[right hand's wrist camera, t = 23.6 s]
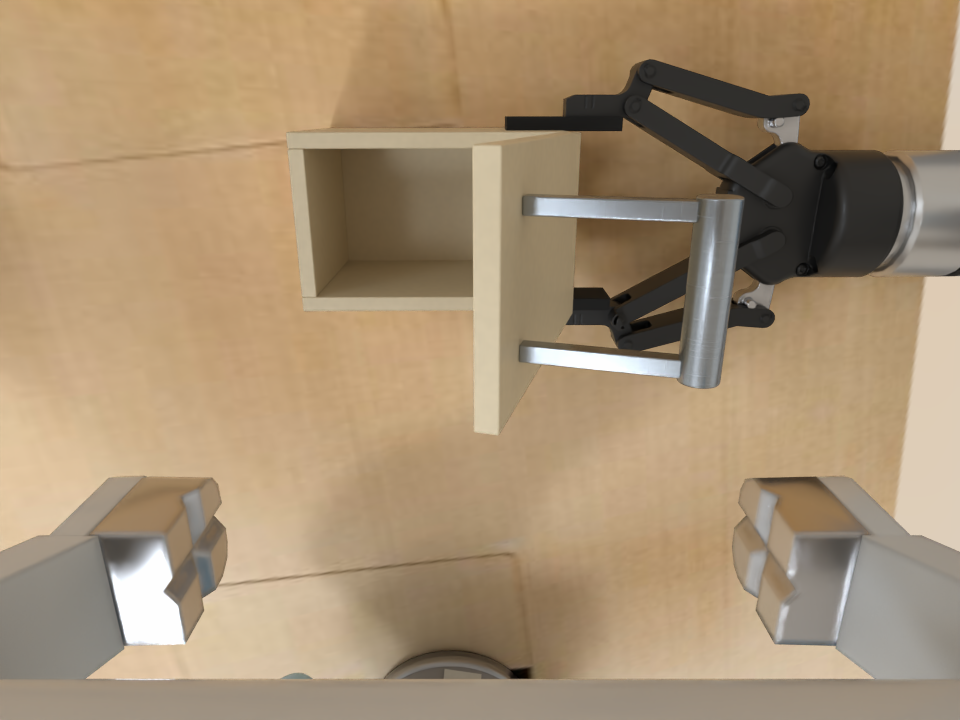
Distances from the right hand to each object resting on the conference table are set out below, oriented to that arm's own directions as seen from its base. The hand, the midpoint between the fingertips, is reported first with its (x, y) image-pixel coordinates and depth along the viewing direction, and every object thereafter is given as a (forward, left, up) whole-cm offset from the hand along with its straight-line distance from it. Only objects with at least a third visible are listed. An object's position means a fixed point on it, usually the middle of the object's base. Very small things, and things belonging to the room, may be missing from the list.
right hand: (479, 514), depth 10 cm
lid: (+1, +2, -20) cm, 20 cm away
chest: (-2, -2, -39) cm, 39 cm away
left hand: (+1, +1, -32) cm, 32 cm away
